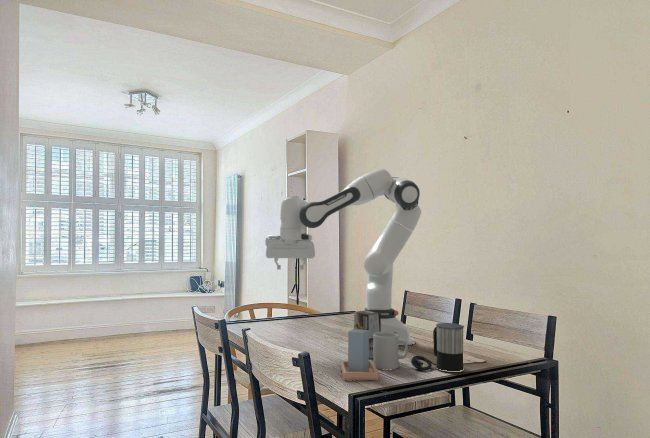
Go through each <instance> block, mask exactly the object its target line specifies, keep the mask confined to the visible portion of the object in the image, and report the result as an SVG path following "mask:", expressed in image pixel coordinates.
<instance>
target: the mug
mask: <svg viewBox="0 0 650 438" xmlns="http://www.w3.org/2000/svg"><path fill="white" fill-rule="evenodd" d="M400 343H403V344H404V345H403V346H404V352H403V353H402V354H401V353H399V345H398V344H400ZM408 352H409V345H407V342H406V340H404V339H400V338H398V334H395V333H390V332H378V333H374V335H373V358H372V362H373V364H374V365H375V367H376V368H377V370H379V369H385V370H384V371H390V370H389V369H395V370H397V369H398V368H399V360H403V359H406V358H407V356H408V354H409V353H408ZM396 368H397V369H396ZM386 369H388V370H386Z"/></svg>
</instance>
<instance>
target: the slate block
mask: <svg viewBox="0 0 650 438" xmlns="http://www.w3.org/2000/svg"><path fill="white" fill-rule="evenodd" d="M347 335H348V337H347V341H348V342H347V345H348V347H347V351H348V353H347V356H348V357H347V361H348V372H368V371H369V361H370V360H369V359H370V358H369V330H361V329H354V328H352V329H350V330H348V333H347Z"/></svg>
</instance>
